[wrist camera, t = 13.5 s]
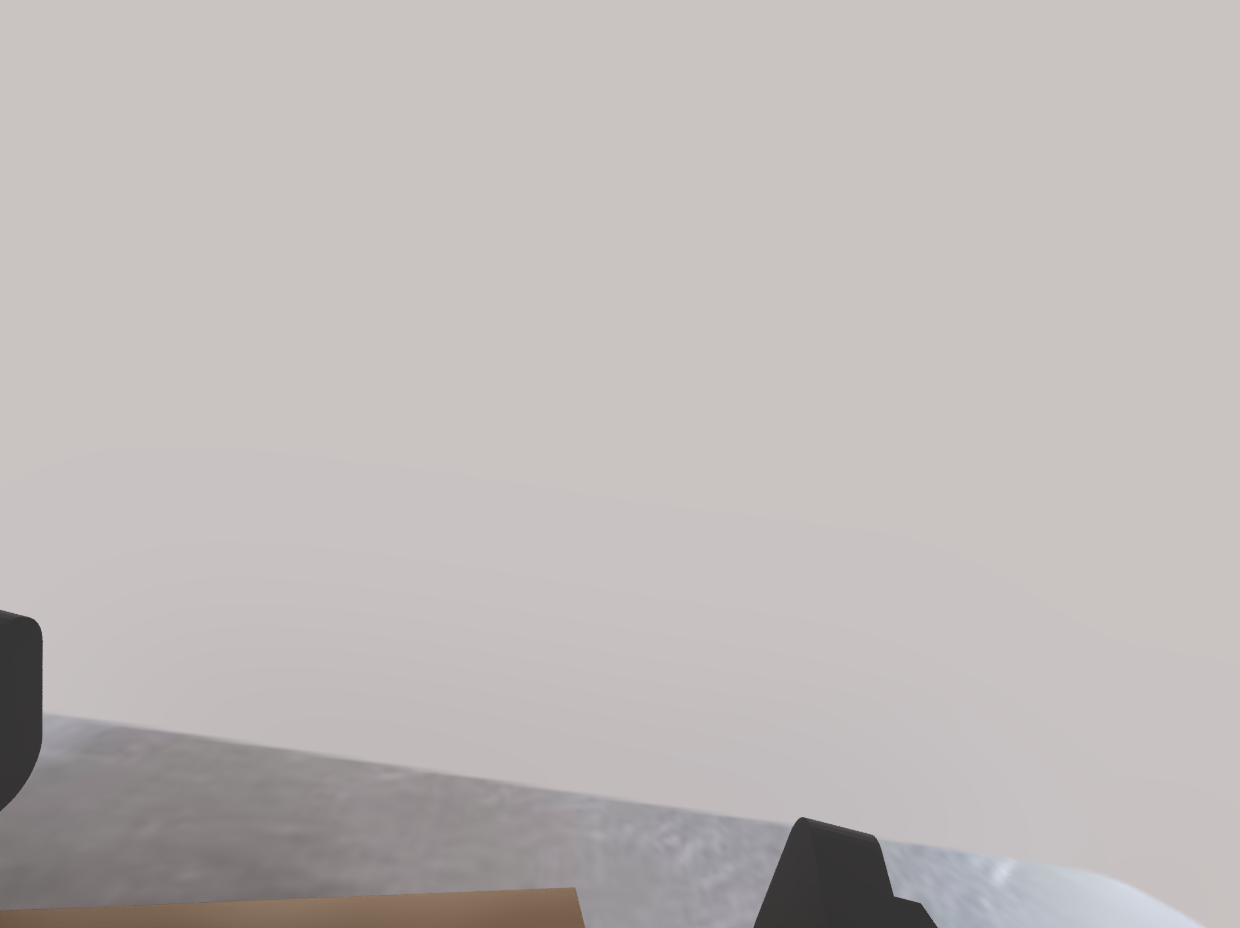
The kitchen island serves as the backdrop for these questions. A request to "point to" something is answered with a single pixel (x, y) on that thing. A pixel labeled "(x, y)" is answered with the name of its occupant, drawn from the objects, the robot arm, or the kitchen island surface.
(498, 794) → the kitchen island surface
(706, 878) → the kitchen island surface
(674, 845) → the kitchen island surface
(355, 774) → the kitchen island surface
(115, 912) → the wooden rack
